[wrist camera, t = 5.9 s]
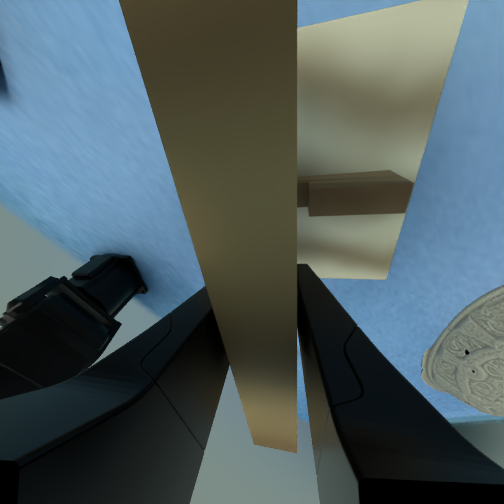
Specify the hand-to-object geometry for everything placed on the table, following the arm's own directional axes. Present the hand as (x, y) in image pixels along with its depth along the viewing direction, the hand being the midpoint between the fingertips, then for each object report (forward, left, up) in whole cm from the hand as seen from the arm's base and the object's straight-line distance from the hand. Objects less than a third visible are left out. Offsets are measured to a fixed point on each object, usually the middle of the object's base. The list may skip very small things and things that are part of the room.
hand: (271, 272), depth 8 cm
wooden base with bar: (0, 0, -13) cm, 13 cm away
